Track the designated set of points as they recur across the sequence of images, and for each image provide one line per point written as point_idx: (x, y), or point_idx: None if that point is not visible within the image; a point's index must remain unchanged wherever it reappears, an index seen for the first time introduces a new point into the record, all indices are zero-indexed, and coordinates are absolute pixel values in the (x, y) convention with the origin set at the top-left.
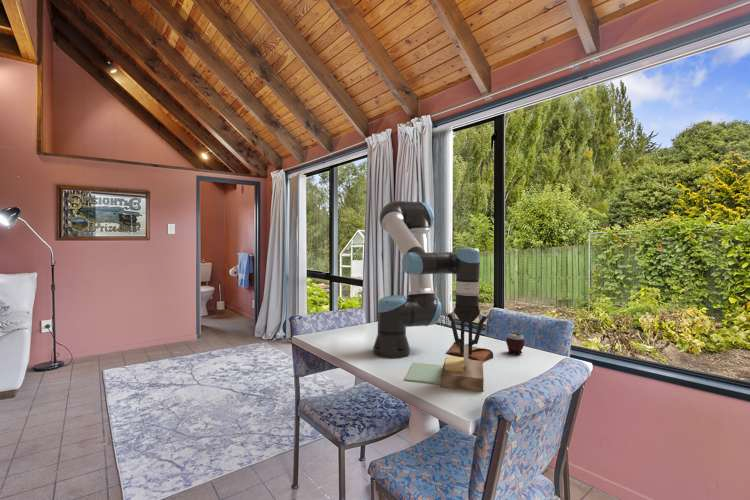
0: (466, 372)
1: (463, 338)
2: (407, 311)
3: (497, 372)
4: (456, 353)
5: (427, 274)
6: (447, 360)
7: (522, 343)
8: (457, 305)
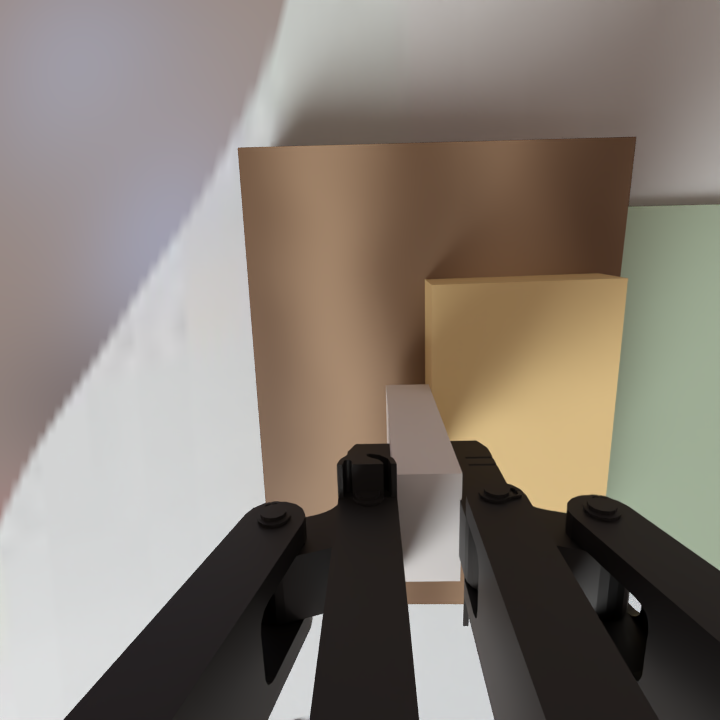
0: (395, 267)
1: (498, 547)
2: None
3: (191, 567)
4: None
5: None
6: (594, 402)
7: None
8: None
